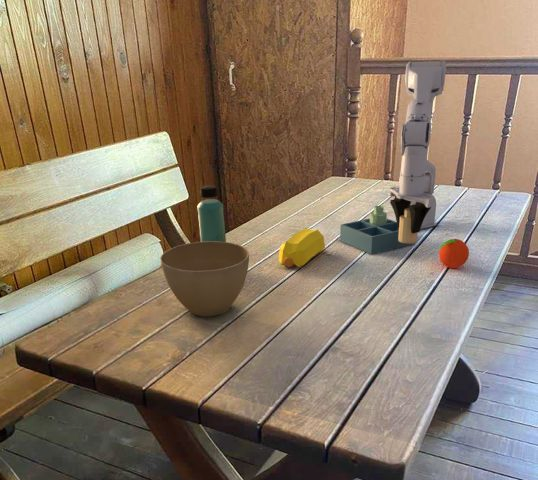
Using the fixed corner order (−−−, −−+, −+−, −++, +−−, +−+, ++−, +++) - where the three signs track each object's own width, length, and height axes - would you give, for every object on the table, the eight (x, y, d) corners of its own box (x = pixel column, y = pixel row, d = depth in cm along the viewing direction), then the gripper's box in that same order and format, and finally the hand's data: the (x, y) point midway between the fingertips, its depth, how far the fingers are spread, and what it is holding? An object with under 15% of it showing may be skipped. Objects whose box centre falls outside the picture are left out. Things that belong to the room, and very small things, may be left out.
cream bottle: (408, 236, 150) (410, 206, 146) (420, 241, 146) (423, 209, 142) (394, 240, 148) (396, 208, 144) (406, 244, 144) (409, 213, 141)
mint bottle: (378, 231, 166) (380, 203, 162) (388, 235, 162) (390, 207, 158) (365, 234, 164) (367, 206, 160) (376, 238, 160) (377, 210, 156)
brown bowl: (169, 332, 115) (161, 274, 109) (165, 297, 131) (159, 245, 125) (258, 321, 118) (255, 265, 112) (244, 288, 134) (241, 237, 128)
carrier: (379, 231, 168) (380, 216, 165) (412, 244, 157) (413, 227, 155) (339, 240, 162) (340, 224, 160) (371, 254, 151) (372, 237, 149)
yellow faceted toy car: (273, 268, 144) (301, 272, 141) (272, 242, 141) (301, 246, 138) (303, 246, 158) (329, 249, 155) (302, 222, 155) (329, 225, 152)
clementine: (445, 275, 137) (448, 246, 133) (427, 265, 142) (430, 237, 139) (473, 269, 139) (477, 240, 136) (454, 260, 145) (458, 232, 141)
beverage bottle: (224, 271, 144) (218, 190, 134) (199, 270, 145) (190, 189, 136) (231, 262, 149) (225, 183, 140) (206, 261, 151) (199, 183, 141)
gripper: (380, 171, 143) (377, 225, 150) (421, 182, 132) (415, 240, 139) (402, 168, 146) (398, 221, 153) (444, 178, 135) (438, 234, 141)
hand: (408, 229), depth 146 cm, fingers closed on cream bottle, 4 cm apart
